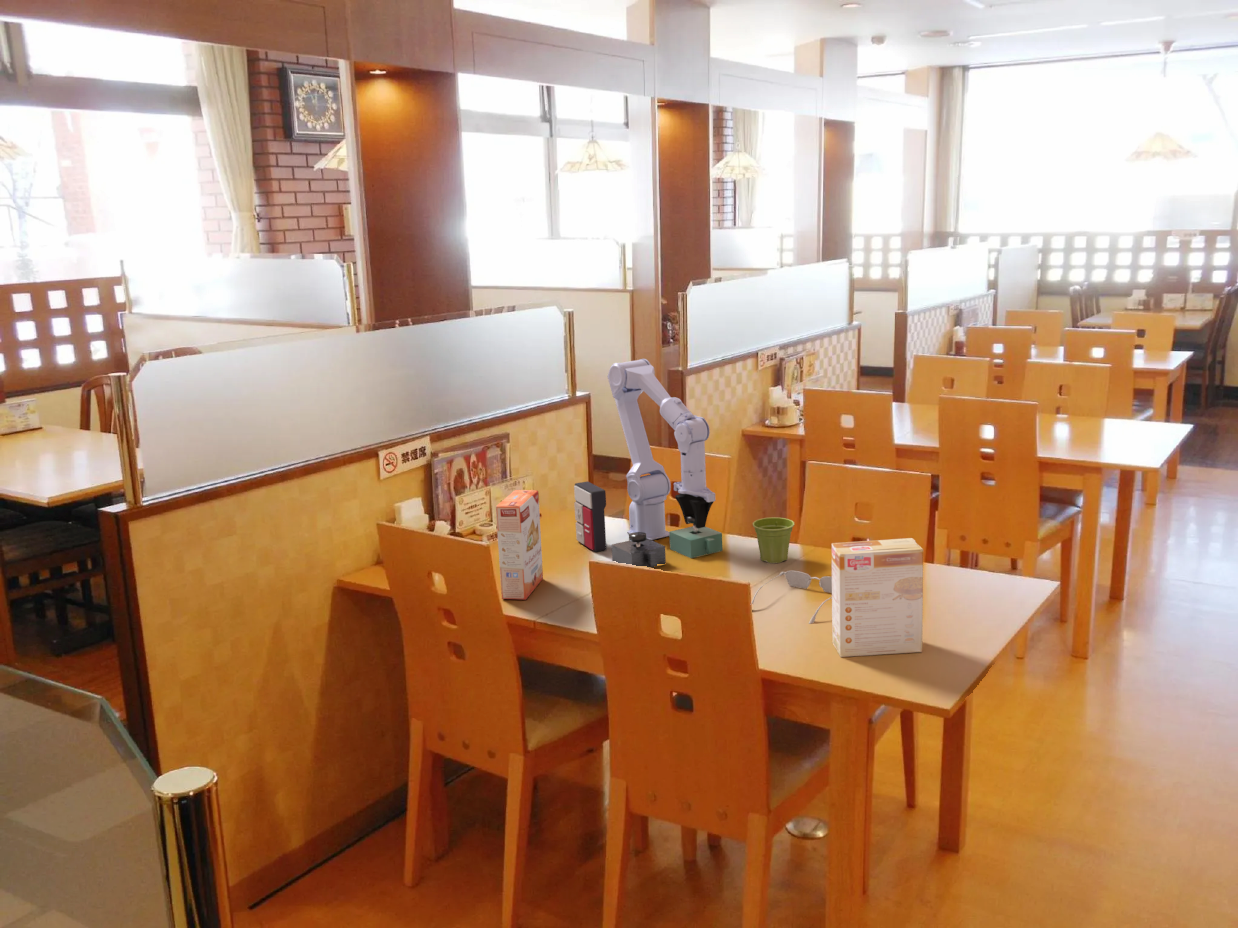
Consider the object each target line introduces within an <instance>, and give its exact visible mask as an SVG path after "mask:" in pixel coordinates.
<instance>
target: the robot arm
mask: <svg viewBox="0 0 1238 928" xmlns="http://www.w3.org/2000/svg"><path fill="white" fill-rule="evenodd" d="M655 374H656V371H655V367H654V366H653V365H652V364H651V362H650V361H649V360H648V359H647V358H640V359H636V360H630V361H624V362H614V363H612V364H611V366H610V367H609V370H608V373H607V379H608V383H609V387H610V391H611V395H612V397H613V399H614V401H615V406H616V409H617V413H618V417H619V419H620V424H621V427H622V430H623V433H624V434H623V435H624V438H625V441H626V445H627V449H628V452H629V456H630V457H629V458H630V460H631V464H632V466H631V468H630V469H629V471H628V472H627V473H626V475H625V477H626V481H627V488H626V489H627V493H628V496H629V498H630V499H631V500H632V501H631V502H630V504H629V507H628V513H629V514H628V516H629V518H628V519H629V530H626V533H627V534H628V535H629V534H630V533H633V532H644V533H646V538H648V539H650V540H652V541H654V540H658V539H661V538H665V537H670V535H669V532H670V531H668V530H666V517H665V515H666V513H665V511H666V509H665V501H666V500H667V496H668V495H669V494H670V492H671V488H672V487H671V486H672V485H671V480H670V478H669V476H668V475H667V473H666V471H665V468H664V466H663V465H662V464H660V463H659V462H658V461H656V460H654V457H653V454H652V453H653V452H652V449H651V445H650V442H649V440H648V436H647V435H648V434H647V432H646V429H645V424H644V421H643V418H642V414H641V410H640V407H639V406H640V405H639V403H638V399H639V397H640V395H641V394H643V392H644V393H645V394H646V395H647V396H648V397H649V398H650V399H651V400H652V401H654V402H655V404H657V406H658V407H659V414H660V415H661V417H662V418H663V419H664V420H665V421H666V422H667V424H669V426H670V427H671V428H672V429H673V430H674V432H673V435H674V438H675V440H676V442H677V449H678V451H679V452H680V473H681V481H676V482H674V483H673V491H675V492H677V493H678V494H676V495H675V497H674V498H675V500H676V501H677V503H678V505H679V506H680V507H679V508H680V509H681V512H682V516H683V518H684V519H683V520H684V522H685V525H689V524H690V525H691V523H688V522H687V515H691V514H694V516H695V524H696V528H703V527H706V524H707V519H708V516H709V512H710V509H711V508H712V505H713V504H714V502H716V493H715V492H713V491H712V490H711V489H710V488H709V487H707V473H706V469H707V468H706V447H705V442H706V441H707V440H708V439H709V437H710V433H711V432H710V430H711V429H710V425H709V423H708V421H706V420H707V419H705V418H704V417H703V416H698V415H697V414H693V413H692V411H691V410H690V409H689V408H688V407H687V406H686V405H685V404H684V403H683V401H682V400H681V399H680V398H678V397H675V396H673V397H671V395H670V394H669V393H668V392H667V390H666V389H665V387H664V385H662V383H661V382H660V381H659V380H658V378H657V377H656V375H655Z"/></svg>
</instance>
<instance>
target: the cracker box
mask: <svg viewBox="0 0 1238 928" xmlns="http://www.w3.org/2000/svg"><path fill="white" fill-rule="evenodd" d="M539 494H540V493H539V490H535V489H515V490H513V491H512V492H511V493H510V494H508V495H507V496H506V497H505V498H504V499H503V500H501V502H499V503H498V504H497V505H495V515H496V517H495V518H496V530H497V531H496V533H497V546H498V558H499V560H498V562H499V563H498V564H499V576H500V577H499V578H500V591H501V599H503V600H520V601H522V600H523V601H525V600H527V599H528V597H529V596H530V595H531V594H532V592H534V590H535V589H536V588H537V586H538V585H540V583H541V582H542V581H543V580H544V573H543V572H544V570H543V555H542V554H543V553H542V551H543V550H542V537H541V536H542V535H541V532H542V531H541V515H540V514H541V513H540V498H539V497H540V496H539Z"/></svg>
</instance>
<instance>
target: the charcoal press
mask: <svg viewBox="0 0 1238 928" xmlns="http://www.w3.org/2000/svg"><path fill="white" fill-rule="evenodd" d="M666 555H667V554H666V546H665V545H663V544H661V543H658V542H656V541H654V540H650V539H648V538H647V539H646V540H645V541H643V542H640V547H637V548H636V542H631V541H629V540H625V541H621V542H616V543H612V544H611V556H612V559H611V560H612V561H616V562H618V563H626V564H632V565H636V566H647V567H653V568H655V567H654V566H657V564H665V563H666V562H667V559H666ZM666 564H667V563H666Z"/></svg>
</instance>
